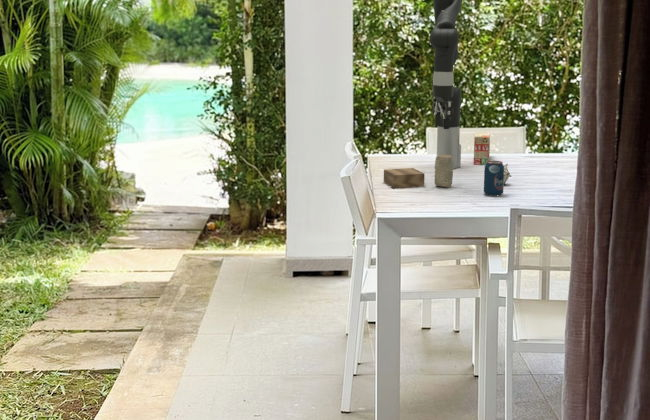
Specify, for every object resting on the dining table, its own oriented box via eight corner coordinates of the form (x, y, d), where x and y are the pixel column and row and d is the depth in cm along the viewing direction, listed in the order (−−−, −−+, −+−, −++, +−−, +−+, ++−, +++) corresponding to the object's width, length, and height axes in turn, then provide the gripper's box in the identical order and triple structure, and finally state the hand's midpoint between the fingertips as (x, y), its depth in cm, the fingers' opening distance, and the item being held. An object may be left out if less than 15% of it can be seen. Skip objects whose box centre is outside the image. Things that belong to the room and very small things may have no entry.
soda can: (498, 197, 345) (499, 164, 342) (480, 195, 348) (481, 162, 346) (505, 193, 350) (507, 161, 348) (488, 191, 354) (489, 159, 351)
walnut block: (412, 180, 375) (413, 167, 373) (424, 186, 363) (424, 173, 362) (383, 182, 371) (383, 169, 370) (394, 188, 360) (394, 175, 359)
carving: (456, 186, 364) (457, 155, 361) (444, 189, 358) (445, 157, 356) (442, 184, 368) (443, 153, 365) (430, 187, 363) (431, 155, 360)
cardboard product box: (475, 156, 428) (476, 129, 425) (489, 156, 427) (490, 129, 424) (473, 165, 407) (474, 136, 405) (488, 165, 406) (489, 136, 404)
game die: (502, 193, 369) (518, 172, 368) (499, 189, 361) (515, 168, 360) (483, 180, 372) (499, 159, 371) (480, 176, 364) (496, 154, 363)
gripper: (460, 85, 349) (458, 129, 352) (445, 82, 362) (444, 124, 366) (440, 85, 347) (439, 130, 351) (426, 82, 361) (425, 125, 364)
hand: (442, 127), depth 358 cm, fingers open, 8 cm apart
